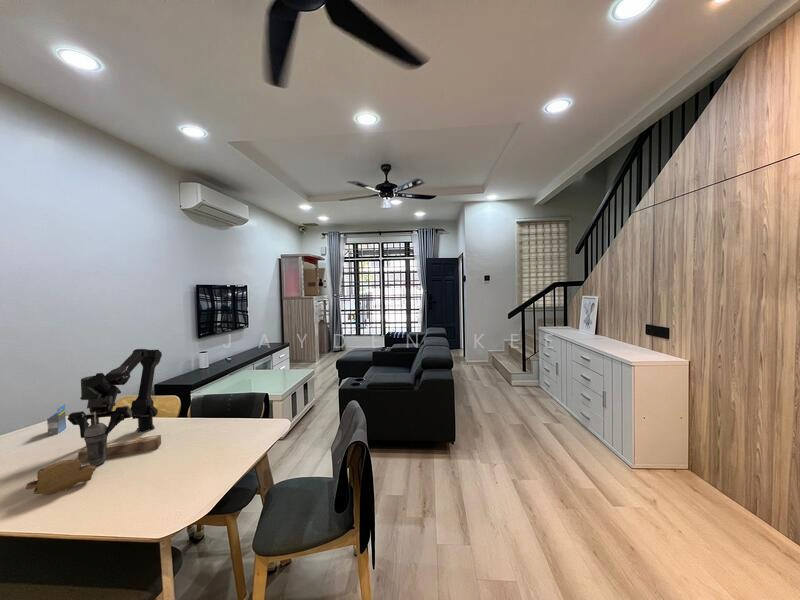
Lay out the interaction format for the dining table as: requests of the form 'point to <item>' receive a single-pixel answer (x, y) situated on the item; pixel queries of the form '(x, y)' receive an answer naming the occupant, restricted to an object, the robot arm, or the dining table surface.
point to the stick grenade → (88, 395)
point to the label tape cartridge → (57, 421)
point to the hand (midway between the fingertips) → (94, 436)
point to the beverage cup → (96, 442)
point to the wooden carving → (61, 476)
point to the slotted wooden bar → (126, 447)
